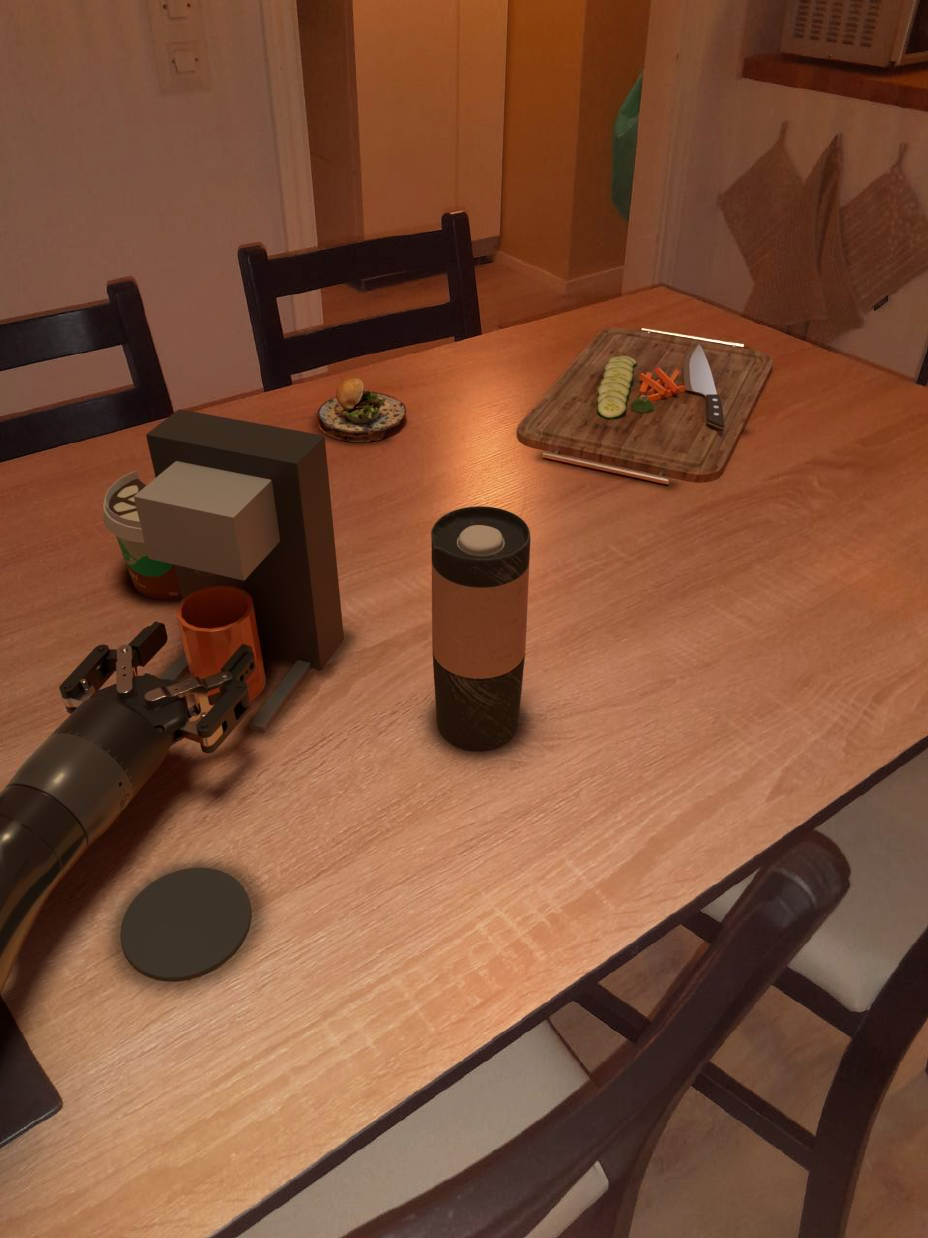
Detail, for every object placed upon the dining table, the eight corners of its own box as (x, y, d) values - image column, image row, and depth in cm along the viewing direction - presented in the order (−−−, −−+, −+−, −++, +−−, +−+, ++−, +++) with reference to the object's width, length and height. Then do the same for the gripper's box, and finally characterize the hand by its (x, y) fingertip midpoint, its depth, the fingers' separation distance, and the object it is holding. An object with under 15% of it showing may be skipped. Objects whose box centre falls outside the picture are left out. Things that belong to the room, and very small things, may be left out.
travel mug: (537, 715, 86) (551, 524, 73) (490, 768, 81) (496, 573, 68) (465, 682, 89) (467, 494, 76) (416, 731, 84) (409, 538, 72)
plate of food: (395, 447, 124) (392, 393, 119) (306, 439, 125) (300, 385, 121) (415, 406, 133) (414, 354, 128) (332, 399, 135) (328, 347, 130)
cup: (179, 693, 88) (160, 616, 82) (226, 654, 92) (211, 577, 86) (234, 718, 85) (218, 640, 79) (280, 676, 89) (268, 599, 84)
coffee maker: (136, 699, 87) (76, 486, 73) (218, 609, 97) (178, 408, 84) (274, 737, 83) (238, 521, 70) (344, 639, 94) (325, 435, 80)
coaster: (94, 945, 67) (92, 940, 67) (183, 854, 74) (182, 849, 73) (192, 1005, 64) (190, 1000, 64) (277, 904, 70) (276, 899, 70)
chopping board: (608, 327, 155) (610, 308, 153) (778, 356, 147) (782, 336, 145) (502, 451, 123) (502, 429, 121) (710, 497, 115) (715, 474, 113)
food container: (100, 570, 102) (77, 488, 96) (153, 548, 106) (134, 468, 99) (155, 625, 95) (134, 540, 89) (211, 599, 99) (194, 516, 92)
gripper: (159, 763, 66) (274, 624, 78) (-9, 713, 70) (125, 588, 82) (179, 834, 71) (284, 693, 83) (20, 784, 75) (143, 655, 87)
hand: (205, 641), depth 82 cm, fingers open, 8 cm apart
